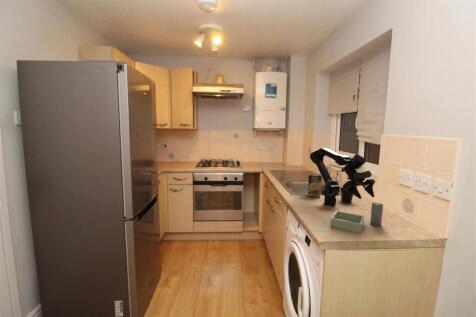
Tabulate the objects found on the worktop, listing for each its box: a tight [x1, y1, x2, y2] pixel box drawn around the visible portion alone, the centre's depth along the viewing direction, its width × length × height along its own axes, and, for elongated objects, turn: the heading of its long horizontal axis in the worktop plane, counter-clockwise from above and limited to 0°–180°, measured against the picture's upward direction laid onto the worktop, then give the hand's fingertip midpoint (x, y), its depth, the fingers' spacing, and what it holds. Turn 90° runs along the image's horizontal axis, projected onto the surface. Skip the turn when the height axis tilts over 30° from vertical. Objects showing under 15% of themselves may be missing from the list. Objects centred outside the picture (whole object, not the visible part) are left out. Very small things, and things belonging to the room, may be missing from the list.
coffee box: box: [306, 173, 323, 198], centre depth 170 cm, size 9×6×16 cm
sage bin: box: [330, 210, 365, 234], centre depth 118 cm, size 14×14×4 cm
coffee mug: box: [340, 185, 354, 204], centre depth 160 cm, size 12×9×10 cm
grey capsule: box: [369, 202, 384, 227], centre depth 120 cm, size 5×5×11 cm
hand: (367, 197), depth 125 cm, fingers open, 9 cm apart
